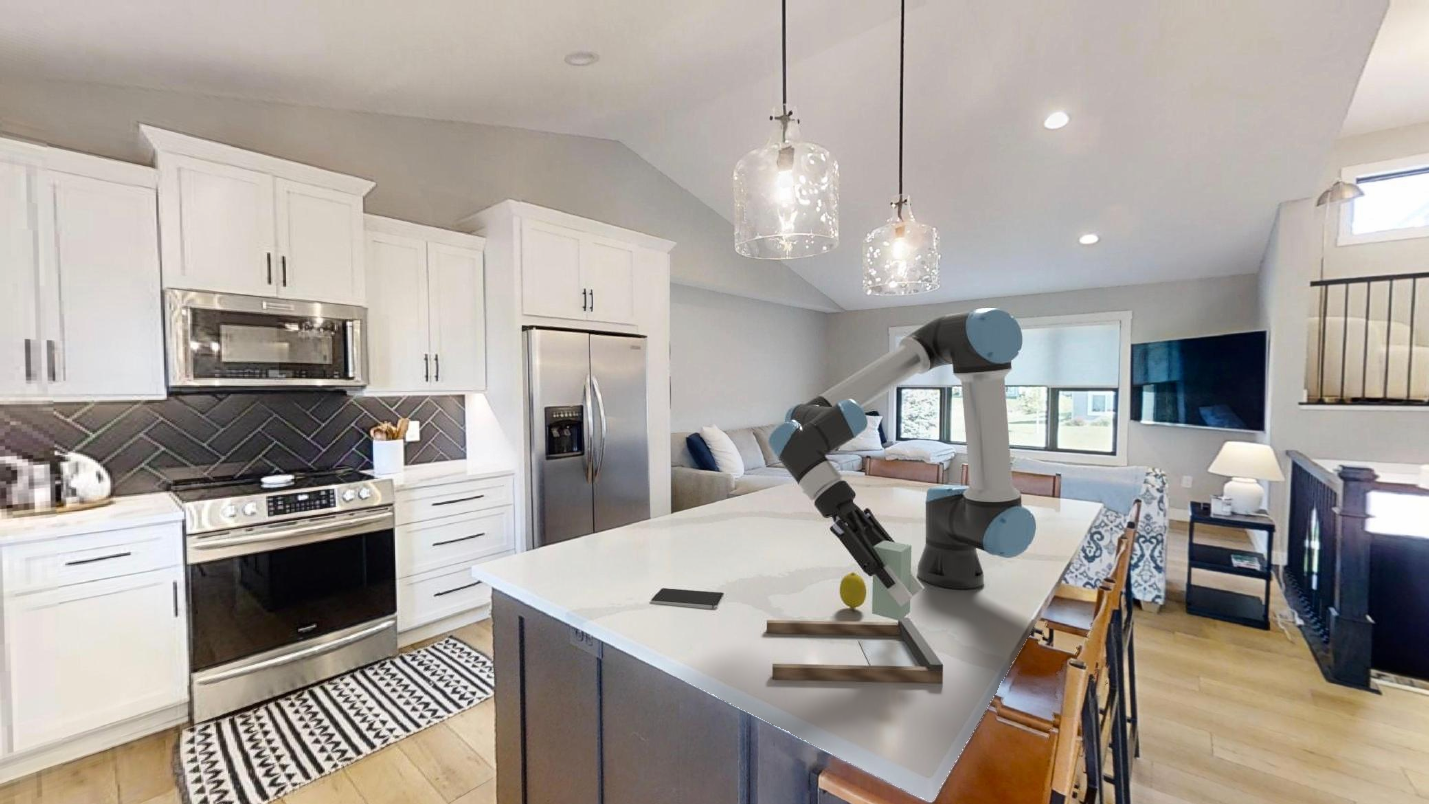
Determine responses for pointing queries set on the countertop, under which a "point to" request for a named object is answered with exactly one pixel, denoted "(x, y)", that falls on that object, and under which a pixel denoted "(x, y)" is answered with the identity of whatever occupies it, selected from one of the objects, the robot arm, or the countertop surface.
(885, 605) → the block
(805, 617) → the countertop surface
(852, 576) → the lemon
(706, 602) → the smartphone
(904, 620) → the track
